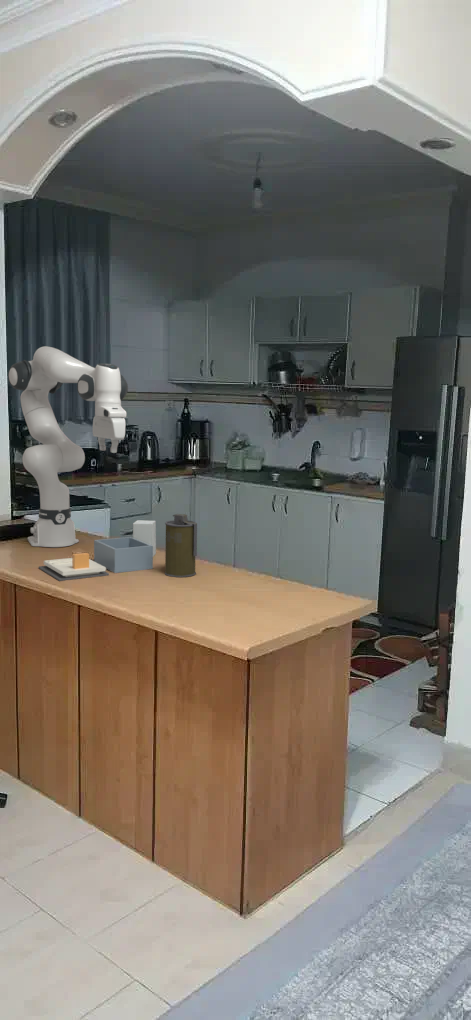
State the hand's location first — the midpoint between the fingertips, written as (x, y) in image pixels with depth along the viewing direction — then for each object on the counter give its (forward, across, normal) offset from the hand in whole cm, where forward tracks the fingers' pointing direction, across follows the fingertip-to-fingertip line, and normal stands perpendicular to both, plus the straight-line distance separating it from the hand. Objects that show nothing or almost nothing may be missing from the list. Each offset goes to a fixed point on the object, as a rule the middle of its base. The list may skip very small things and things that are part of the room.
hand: (108, 451), depth 274 cm
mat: (+39, +9, -16) cm, 43 cm away
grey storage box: (+39, +8, +2) cm, 40 cm away
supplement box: (+39, -4, +16) cm, 43 cm away
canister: (+39, +28, +14) cm, 50 cm away
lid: (+37, +10, -16) cm, 42 cm away
